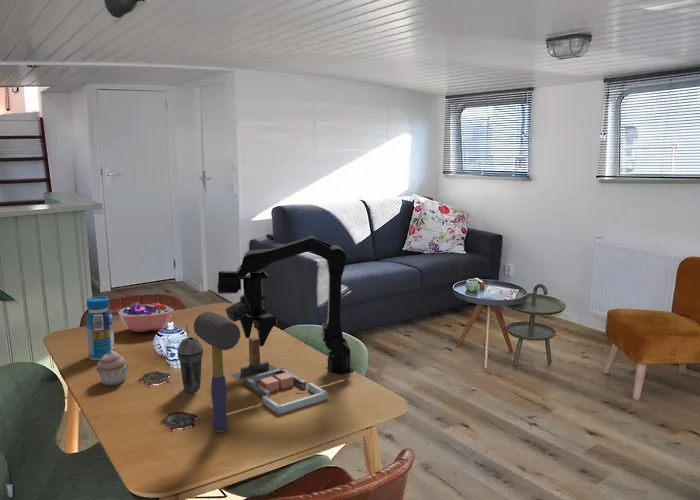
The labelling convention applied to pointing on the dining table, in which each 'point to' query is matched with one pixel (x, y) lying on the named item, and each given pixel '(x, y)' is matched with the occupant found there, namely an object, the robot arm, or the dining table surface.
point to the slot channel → (253, 380)
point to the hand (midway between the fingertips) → (254, 341)
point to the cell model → (145, 316)
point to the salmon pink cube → (285, 380)
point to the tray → (299, 403)
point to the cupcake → (112, 368)
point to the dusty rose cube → (270, 384)
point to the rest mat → (239, 377)
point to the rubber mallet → (217, 359)
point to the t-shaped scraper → (254, 359)
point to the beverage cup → (190, 362)
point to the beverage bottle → (99, 327)
